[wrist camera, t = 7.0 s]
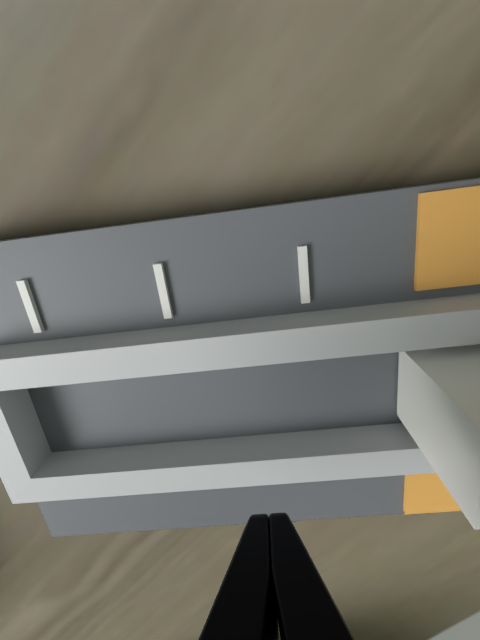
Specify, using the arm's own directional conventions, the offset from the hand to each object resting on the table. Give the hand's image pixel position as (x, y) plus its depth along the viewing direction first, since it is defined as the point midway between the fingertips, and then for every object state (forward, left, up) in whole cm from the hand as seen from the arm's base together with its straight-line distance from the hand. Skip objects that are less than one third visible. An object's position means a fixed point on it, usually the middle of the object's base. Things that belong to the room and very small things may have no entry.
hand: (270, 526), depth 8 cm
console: (0, -2, -8) cm, 8 cm away
